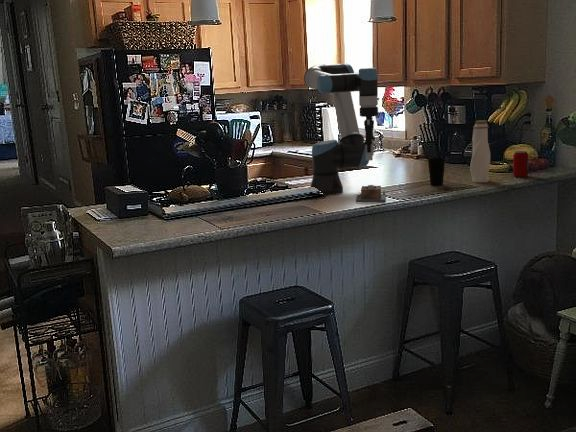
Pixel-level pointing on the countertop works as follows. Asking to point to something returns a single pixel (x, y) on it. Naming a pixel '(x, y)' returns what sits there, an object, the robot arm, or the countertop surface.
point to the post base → (383, 198)
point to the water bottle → (480, 152)
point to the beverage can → (520, 163)
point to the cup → (436, 171)
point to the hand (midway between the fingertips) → (369, 157)
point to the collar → (371, 192)
